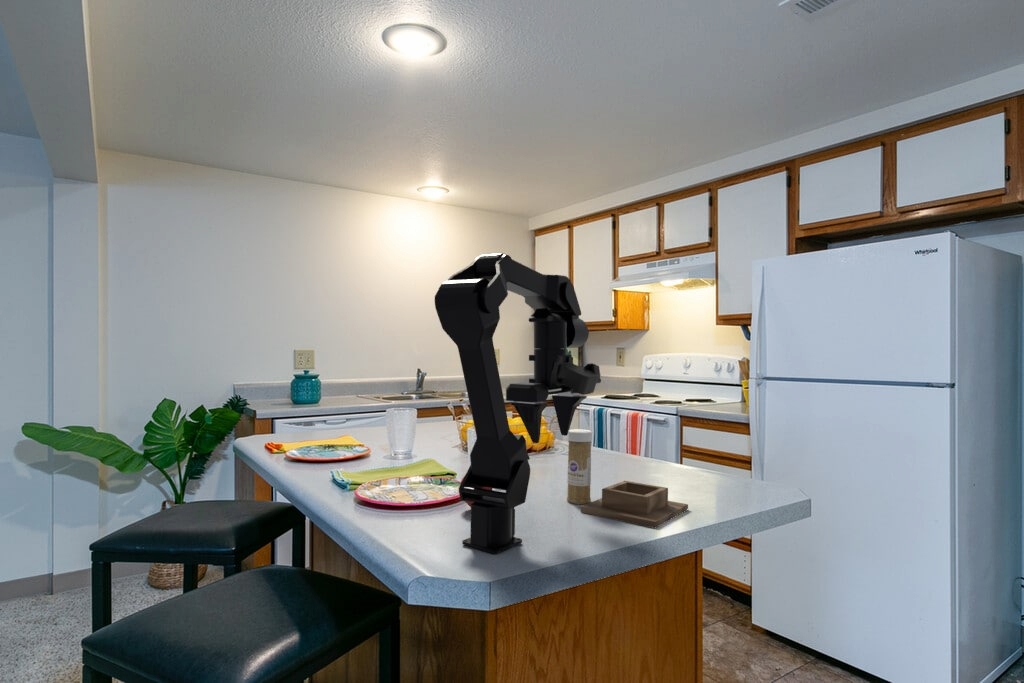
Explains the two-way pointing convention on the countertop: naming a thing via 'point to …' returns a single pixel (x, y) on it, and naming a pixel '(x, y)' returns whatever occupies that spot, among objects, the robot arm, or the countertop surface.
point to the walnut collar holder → (635, 504)
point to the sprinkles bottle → (579, 466)
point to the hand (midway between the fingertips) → (550, 439)
